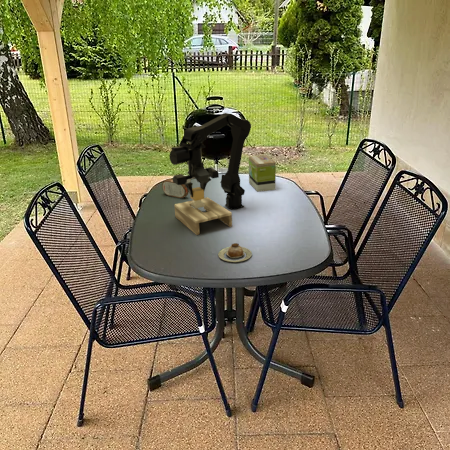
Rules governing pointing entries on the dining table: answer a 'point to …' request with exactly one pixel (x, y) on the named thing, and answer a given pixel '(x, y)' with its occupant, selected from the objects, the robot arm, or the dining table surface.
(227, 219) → the keyhole board
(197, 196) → the mustard yellow block
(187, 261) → the dining table surface
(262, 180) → the tea box
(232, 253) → the pastry
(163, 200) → the dining table surface
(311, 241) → the dining table surface
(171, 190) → the tin
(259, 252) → the dining table surface
